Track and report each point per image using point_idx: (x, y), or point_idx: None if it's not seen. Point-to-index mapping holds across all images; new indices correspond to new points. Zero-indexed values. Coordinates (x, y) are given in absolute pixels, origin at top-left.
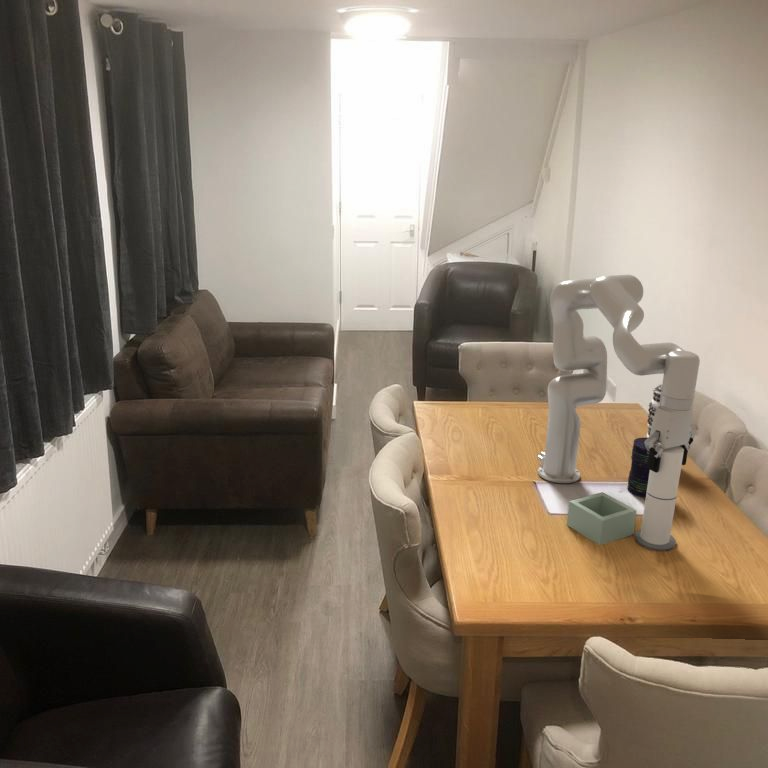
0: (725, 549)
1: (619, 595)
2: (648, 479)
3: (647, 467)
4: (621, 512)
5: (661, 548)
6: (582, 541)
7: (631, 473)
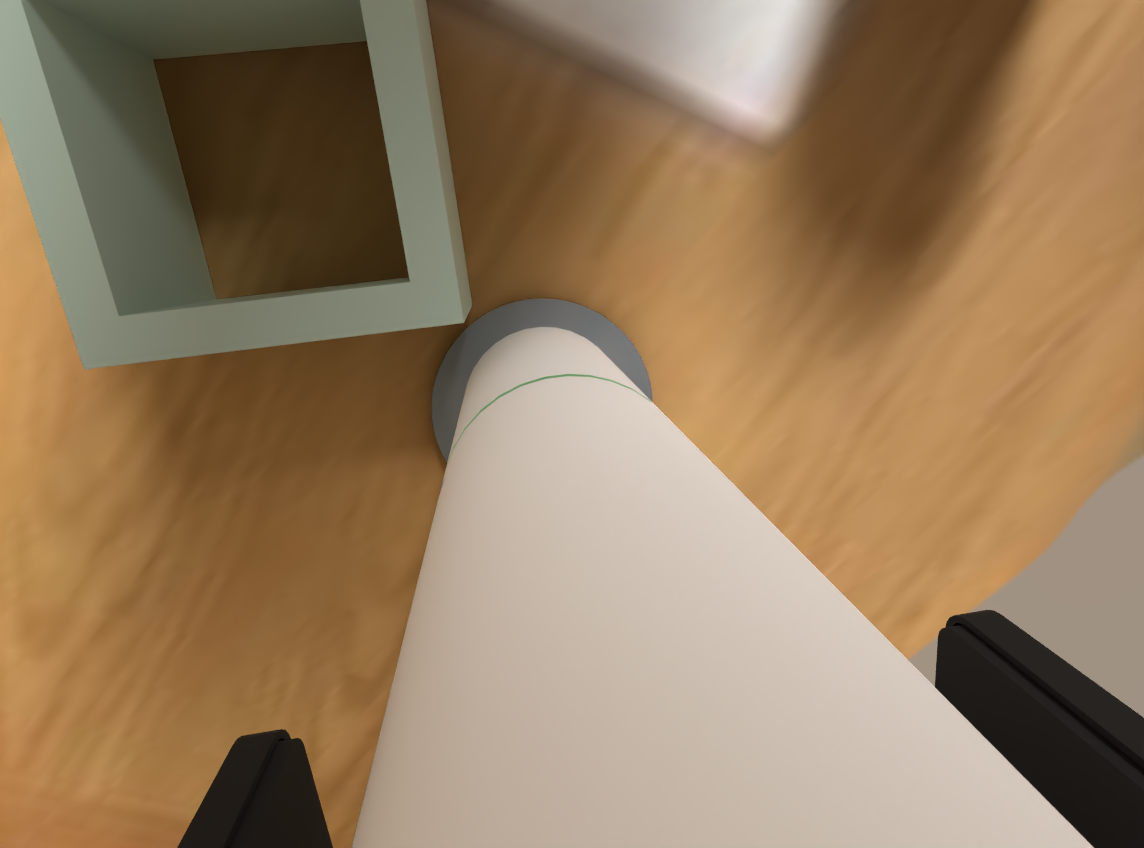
0: None
1: (34, 744)
2: (462, 486)
3: (241, 745)
4: (321, 309)
5: None
6: None
7: None
